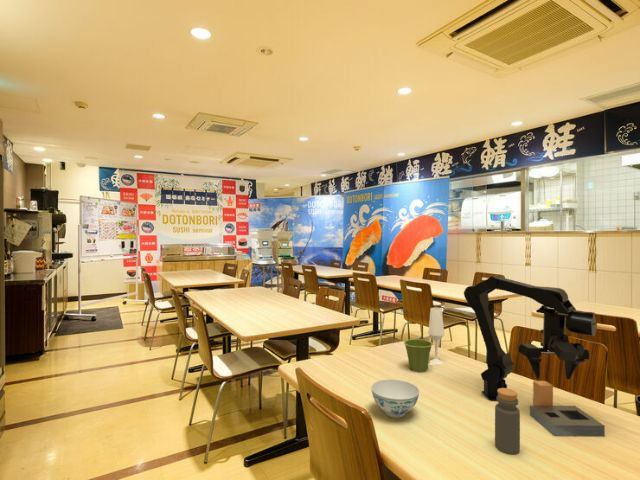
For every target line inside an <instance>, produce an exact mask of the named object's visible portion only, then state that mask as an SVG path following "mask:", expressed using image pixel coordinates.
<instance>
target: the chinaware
mask: <svg viewBox="0 0 640 480" xmlns="http://www.w3.org/2000/svg"><path fill="white" fill-rule="evenodd" d="M370 390H371V394H372V398H373V400H374V402H375V404H377V406H378V407H379V408H380V409H381V410H382V411H383V413H384V414H385V415H386V416H388V417H390V418H396V419H397V418H398V419H399V418H403V417H404V416H406V414H407V413H408V412H410V411H411V410H412V409H413V408H414V407H415V406H416V404H417V402H418V399H419V396H420V389H419V387H418V386H417V385H415V384H414V383H411V382H409V381H406V380H402V379H396V378H395V379H394V378H393V379H391V378H389V379H388V378H387V379H380V380H377V381H375V382H373V383H372V384H371V386H370Z"/></svg>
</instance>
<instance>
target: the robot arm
mask: <svg viewBox="0 0 640 480" xmlns="http://www.w3.org/2000/svg"><path fill="white" fill-rule="evenodd" d="M464 289H465V290H464V291H463V297H464V299H465V301H466V303H467V304H468V306H469V307H470V308H471V309H472V310H473V312H474V313H475V317H476V321H477V323H478V327H479V331H480V333H481V336H482V340H483V342H484V345H485V348H486V365H487V369H485V370H483V371H482V372H480V376H481V380H482V381H483V390H481V394H482V395H483V396H484V397H485V398H486V399H488V400H489V401H497V396H498V391H497V390H498V389H499V388H508V384H507V383H506V382H507V381H506V379H507V378H508V376H509V375H510V374H511V373H512V372H513V370H514V366H513V365H514V364H515V363H514V361H513V360H512V357H511V356H512V355H511V352H505V351H504V349H503V348H502V345H501V343H500V340H499V339H500V338H499V337H498V334H497V331H496V327H495V325H494V322H493V320H492V319H493V318H492V316H491V314H490V310H489V301H490V298H489V294H490V293H492V292H494V291H495V290H498V289H499V290H502V291H505V292H507V293H511V294H515V295H518V296H522V297H525V298H529V299H532V300H533V301H535V302H536V303H538V304H540V305H541V306H540V307H539V308H538V309H536V310H535V311H536V313H538V314H539V313H540V314H543V325H542V326H543V327H542V328H543V329H540V333H541V334H542V342H541V341H540V344H539V346H540V347H538V346H537V345H535V344H532V343H521V344H520V345H519V346H518V353H520V354H521V355H523V356H524V357H526V358H527V360H528V362H529V364H530V366H531V368H532V371H533V373H534V376H535V378H536V379H538V380H539V379H540V373H541V371H540V370H541V368H540V367H541V362H542V360H543V359H542V358H541V357H542V355H556V357H557V359H559V360H561V361H564V373H565V379H567V380H571V377H572V376H573V373H574V371H575V370H576V368H577V366H578V365H579V364H581V363H585V362H587V361H588V360H589V361H590V360H591V353H590V350H588V349H587V348H585V347H584V344H582V342H570V340H569V335H568V334H567V333H566V329H567V330H568V331H569V332H570V333H574V334H579V335H585V336H589V337H595V336H596V333H597V329H598V322H597V318H596V314H595V313H596V312H593V311H582V310H577V309H576V307H575V306H574V305H573V303H572V302H571V301H570V299H569V295H568V292H567V291H566V290H564V289H563V288H561V287H551V286H540V285H539V286H538V285H537V286H536V285H532V284H529V283H525V282H521V281H518V280H513V279H509V278H505V277H502V276H500V275H492V276H489V277H488V278H487V279H485V280H482V281H481V282H479V283H477V284H475V285H468V286H467V287H466V288H464ZM586 360H587V361H586Z"/></svg>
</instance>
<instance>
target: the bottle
mask: <svg viewBox="0 0 640 480" xmlns="http://www.w3.org/2000/svg"><path fill="white" fill-rule="evenodd" d="M497 391H498V396H497V400H496V401H497V403H496V404H495V406H494V446H495V447H496V448H495V449H497V450H498V451H500V452H501V453H504V454H508V455H516V454H517V455H518V454H519V453H520V450H521V449H520V448H521V413H520V412H521V411H520V409H519V408H518V407H517V406H518V405H519V399H518V392H517V391H516V390H514V389H511V388H508V387H507V388H499V389H498V390H497Z"/></svg>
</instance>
